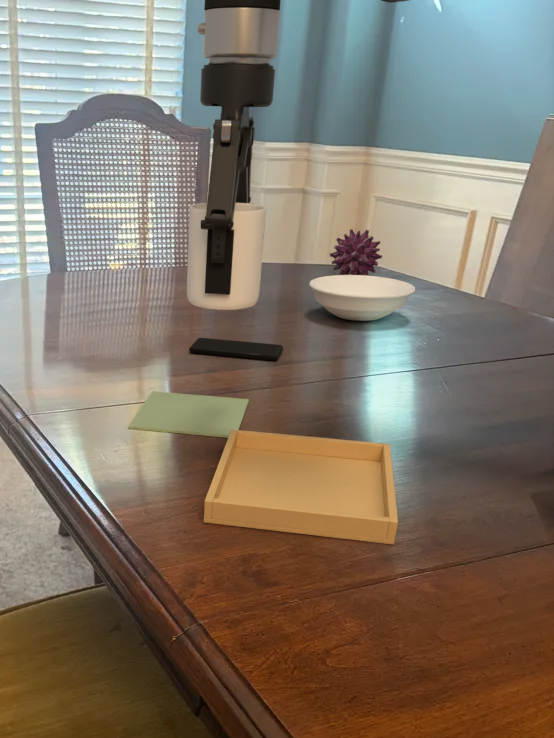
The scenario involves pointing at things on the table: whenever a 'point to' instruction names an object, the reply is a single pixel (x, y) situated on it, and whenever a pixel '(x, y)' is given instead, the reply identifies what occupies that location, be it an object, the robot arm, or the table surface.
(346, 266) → the purple spiky ball
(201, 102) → the robot arm
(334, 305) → the bowl
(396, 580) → the table surface
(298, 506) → the tray
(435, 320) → the table surface
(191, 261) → the cup
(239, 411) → the mat
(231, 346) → the smartphone
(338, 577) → the table surface
